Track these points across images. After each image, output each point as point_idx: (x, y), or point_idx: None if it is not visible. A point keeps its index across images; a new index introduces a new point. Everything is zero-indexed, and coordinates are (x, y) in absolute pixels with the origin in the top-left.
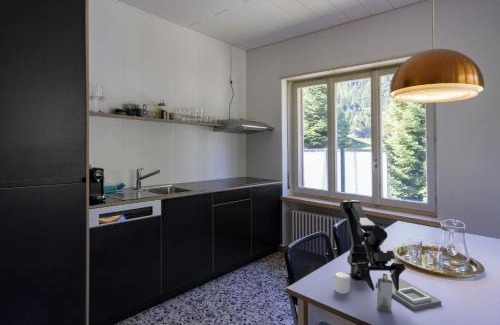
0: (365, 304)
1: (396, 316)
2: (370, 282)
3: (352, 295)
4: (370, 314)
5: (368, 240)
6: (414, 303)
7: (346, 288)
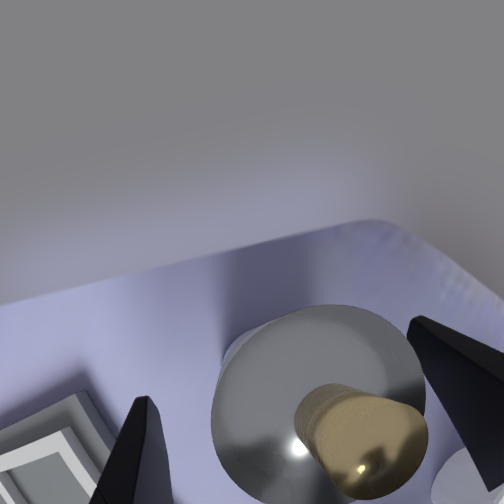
0: None
1: (204, 299)
2: (481, 344)
3: None
4: (358, 280)
5: None
6: (62, 428)
7: (466, 465)
